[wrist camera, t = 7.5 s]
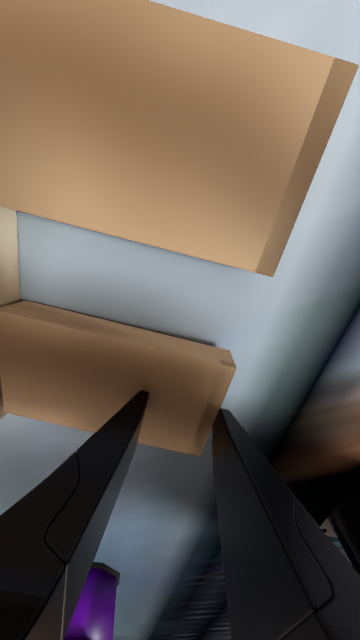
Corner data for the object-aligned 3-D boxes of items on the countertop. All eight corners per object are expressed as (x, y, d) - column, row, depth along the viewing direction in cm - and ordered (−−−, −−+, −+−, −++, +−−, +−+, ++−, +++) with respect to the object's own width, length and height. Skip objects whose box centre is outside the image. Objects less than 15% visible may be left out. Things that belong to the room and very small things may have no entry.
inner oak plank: (199, 430, 10) (200, 456, 9) (28, 391, 10) (3, 412, 9) (229, 350, 9) (236, 368, 7) (25, 300, 8) (-6, 309, 7)
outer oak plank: (258, 272, 7) (272, 277, 6) (22, 211, 7) (-16, 201, 6) (320, 108, 6) (359, 65, 4) (15, 17, 5) (-41, -58, 4)
